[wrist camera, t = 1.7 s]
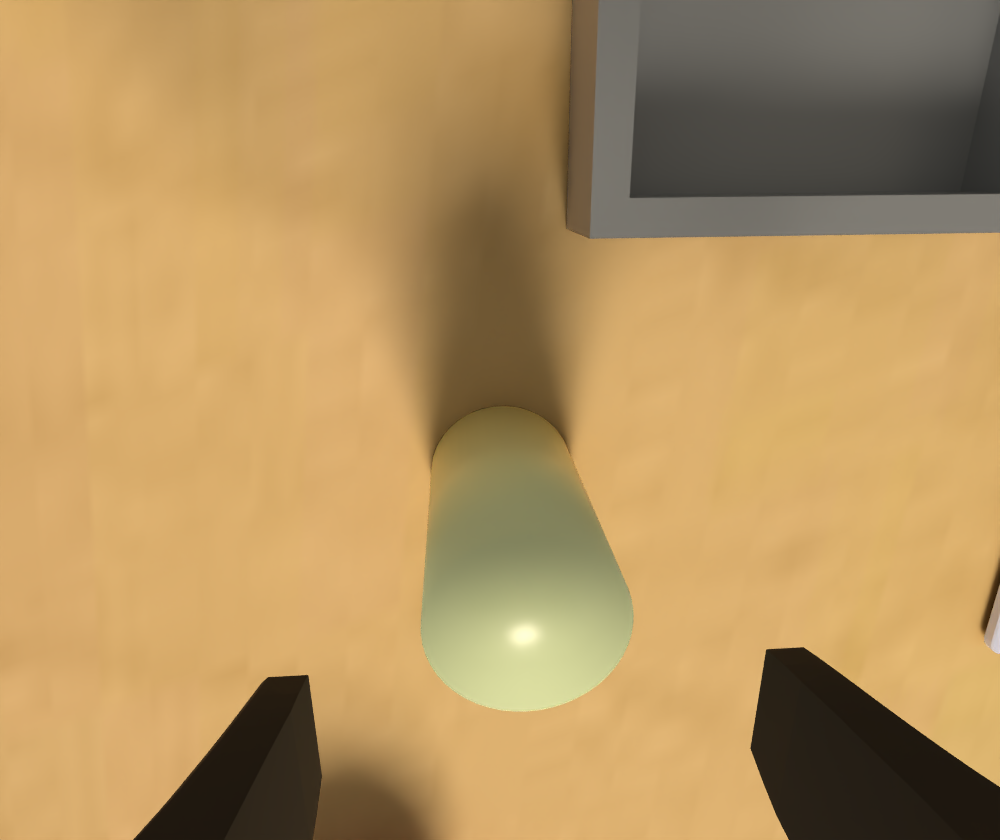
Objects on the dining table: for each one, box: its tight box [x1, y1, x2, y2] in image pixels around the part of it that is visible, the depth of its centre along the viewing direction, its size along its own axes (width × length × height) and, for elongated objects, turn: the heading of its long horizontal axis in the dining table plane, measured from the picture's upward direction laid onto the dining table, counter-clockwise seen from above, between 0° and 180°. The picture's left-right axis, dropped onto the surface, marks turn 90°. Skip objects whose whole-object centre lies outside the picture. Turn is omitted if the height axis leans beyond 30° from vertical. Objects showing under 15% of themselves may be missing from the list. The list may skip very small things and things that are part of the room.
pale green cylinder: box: [421, 406, 633, 711], centre depth 16 cm, size 4×4×7 cm
